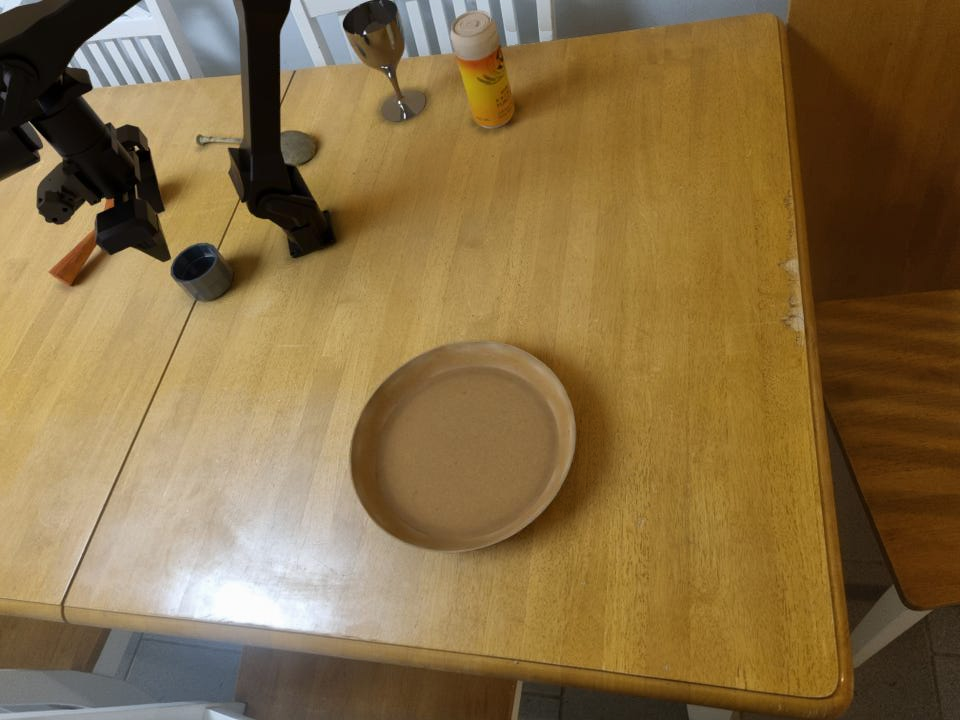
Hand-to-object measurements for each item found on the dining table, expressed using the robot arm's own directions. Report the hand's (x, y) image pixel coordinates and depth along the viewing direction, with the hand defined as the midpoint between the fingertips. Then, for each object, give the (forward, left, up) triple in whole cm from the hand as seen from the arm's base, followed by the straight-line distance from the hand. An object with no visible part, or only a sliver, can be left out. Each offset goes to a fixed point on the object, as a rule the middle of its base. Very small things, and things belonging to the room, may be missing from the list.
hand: (164, 235), depth 91 cm
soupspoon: (-26, +9, -11) cm, 30 cm away
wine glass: (-23, +33, -11) cm, 42 cm away
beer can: (-13, +45, -11) cm, 48 cm away
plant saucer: (+37, +27, -11) cm, 47 cm away
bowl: (-1, 0, -11) cm, 11 cm away
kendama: (-18, -15, -11) cm, 26 cm away
